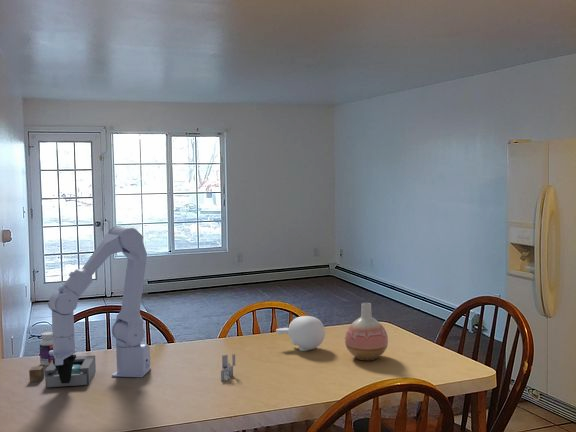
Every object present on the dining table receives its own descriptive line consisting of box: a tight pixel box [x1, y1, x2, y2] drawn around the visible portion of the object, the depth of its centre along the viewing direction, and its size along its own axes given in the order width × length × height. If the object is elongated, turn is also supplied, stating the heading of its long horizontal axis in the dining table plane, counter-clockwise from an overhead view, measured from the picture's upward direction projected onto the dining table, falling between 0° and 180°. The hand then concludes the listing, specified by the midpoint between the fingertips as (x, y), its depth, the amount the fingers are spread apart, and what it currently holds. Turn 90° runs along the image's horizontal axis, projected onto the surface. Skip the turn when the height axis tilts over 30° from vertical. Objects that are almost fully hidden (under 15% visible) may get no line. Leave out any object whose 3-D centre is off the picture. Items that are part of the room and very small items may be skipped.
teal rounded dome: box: [71, 364, 81, 374], centre depth 179 cm, size 6×6×2 cm
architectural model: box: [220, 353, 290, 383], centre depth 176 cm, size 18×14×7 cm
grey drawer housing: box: [44, 355, 97, 386], centre depth 179 cm, size 12×12×5 cm
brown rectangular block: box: [28, 365, 45, 383], centre depth 179 cm, size 3×3×4 cm
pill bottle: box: [39, 331, 54, 366], centre depth 194 cm, size 5×5×10 cm
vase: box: [344, 302, 389, 362], centre depth 195 cm, size 14×14×18 cm
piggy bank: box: [275, 315, 326, 352], centre depth 206 cm, size 12×12×15 cm
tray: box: [45, 364, 88, 388], centre depth 178 cm, size 11×12×3 cm
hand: (65, 382), depth 171 cm, fingers closed
